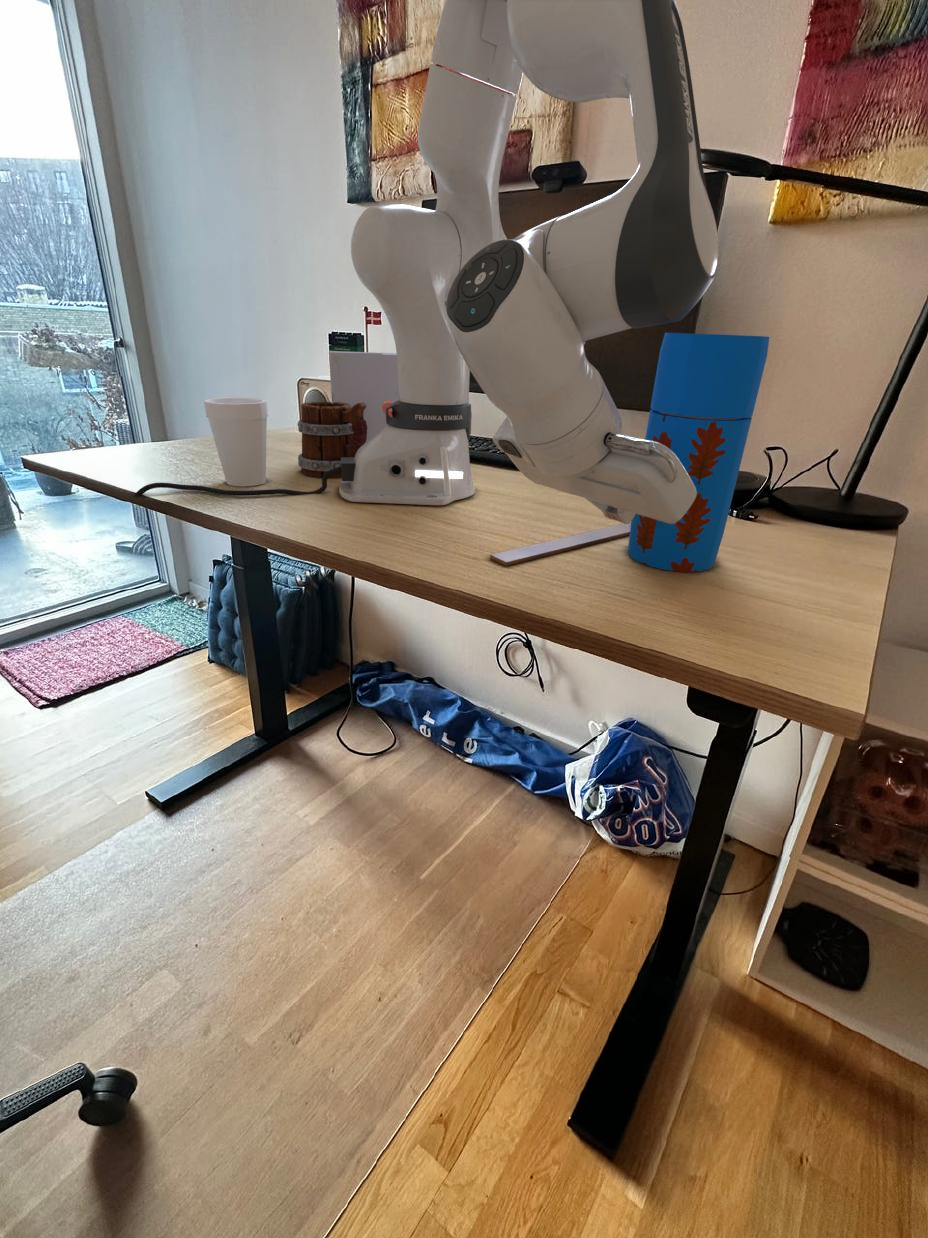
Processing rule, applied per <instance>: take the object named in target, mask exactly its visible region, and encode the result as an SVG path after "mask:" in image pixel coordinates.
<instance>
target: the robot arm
mask: <svg viewBox="0 0 928 1238" xmlns="http://www.w3.org/2000/svg"><path fill="white" fill-rule="evenodd" d="M439 17H440V18H439V21H438V25H437V29H436V34H435V38H434V43H433V48H432V53H431V58H430V62H431V63H429V67H428V74H427V79H426V85H425V91H424V97H423V102H422V107H421V113H420V118H419V125H418V130H417V145H418V149H419V152H420V155H421V157H422V158H423V160H424V162H425V163H426V165H427V167H428V168H429V169H430V170H431V171H432V173H433V175H434V177H435V183H436V192H437V194H436V205H435V210H434V209H429V208H424V207H419V206H413V205H410V204H409V205H408V204H405V203H404V204H403V203H395V204H394V203H393V204H382V205H375V206H374V205H373V206H370V207H369V206H368V207H367V208H366V209H364V210H363V211H362V213H361V214H360V216H359V217H358V218H357V220H356V222H355V225H354V227H353V230H352V234H351V239H350V256H351V261H352V265H353V269H354V271H355V273H356V275H357V277H358V279H359V281H360V282H361V284H362V285H363V286H364V287H365V288H366V289H367V290H368V291H369V292H370V293H371V294H372V295H373V297H374V298H375V300H376V301H377V302H378V304H379V305H380V306H381V308H382V311H383V312H384V314H385V317H386V319H387V321H388V324H389V327H390V329H391V332H392V333H391V334H392V336H393V340H394V345H395V350H396V352H395V353H397V366H398V389H399V400H397V401H395V402H394V403H392V402H390V401H385V402H384V404H382V406H383V407H382V410H383V412H384V413H385V414H386V423H387V424H388V425H387V426H386V427H385V428H383V429H382V430H381V431H380V432H379V433H377V434H376V435H375V436H374V437H372V438H371V439H370V440H369V441H367V442H366V443H365V444H364V445H362V446H361V447H360V448H359V449H358V451H357V453H356V455H355V457H341V466H340V467H337V468H335V469H332V470H330V471H328V472H326V473H325V474H324V476H322V477H321V487H319V488H317V489H315V490H312V491H301V490H295V489H286V488H270V489H252V490H250V489H249V490H247V489H246V490H239V489H238V490H233V489H222V488H221V489H220V488H214V487H210V486H204V485H197V484H196V485H195V484H180V483H172V482H153V483H152V482H151V483H148V484H146V485H144V486H142V487H141V488H139V489H138V490H137V491H136V492H135V494H134V496H136V497H140V496H143V495H144V494H145V493H146V492H148V491H150V490H154V489H160V488H161V489H162V488H163V489H172V490H173V489H175V490H180V491H181V490H183V491H198V492H199V491H200V492H206V493H211V494H216V495H222V496H235V497H236V496H237V497H238V496H242V497H243V496H247V497H249V496H266V495H267V496H268V495H288V496H302V495H318V494H322V493H324V492H325V491H326V490H327V487H328V479H329V478H328V477H329V476H331V475H333V474H335V473H338V472H340V471H341V474H342V477H341V481H340V483H339V486H338V487H339V489H338V492H339V495H340V497H341V498H342V499H344V500H346V501H349V502H354V503H372V504H373V503H374V504H397V505H418V506H445V505H446V506H447V505H449V504H450V503H452V502H454V501H457V500H458V501H459V500H463V499H466V498H469V497H471V496H473V495H475V493H476V488H475V485H474V481H473V475H472V468H471V461H470V449H469V448H470V447H469V440H470V439H471V434H472V421H473V420H472V419H473V416H472V414H473V412H472V404H471V403H470V378H471V377H470V376H471V374H472V376H473V378H474V379H475V381H476V382H477V384H478V386H479V387H480V388H481V390H482V392H483V393H484V394H485V396H486V397H487V398H488V400H489V401H490V402H491V404H493V405H494V407H496V408H497V409H498V410H500V411H501V412H503V413H504V415H505V416H506V417H505V419H503V421H502V423H501V424H500V426H499V427H498V429H497V430H496V432H495V433H494V435H493V437H492V442H493V444H494V445H495V446H496V447H497V448H498V450H499V451H501V452H503V453H505V454H506V455H507V456H508V458H509V459H510V461H511V462H512V463H513V464H514V465H515V467H516V468H517V469H518V470H519V471H520V473H521V474H522V475H523V476H524V477H525V478H526V479H528V480H529V481H530V482H532V483H534V484H536V485H540V486H543V487H546V488H549V489H554V490H556V491H560V492H563V493H565V494H569V495H573V496H576V497H580V498H583V499H586V500H587V501H588V502H590V503H591V504H592V505H593V506H595V507H596V508H597V509H598V510H600V512H601V513H602V515H603V516H604V517H605V518H606V519H608V520H613V521H617V522H618V523H621V524H629V523H630V522H631V520H632V519H633V518H634V516H635V514H639V515H642V516H645V517H649V518H652V519H655V520H658V521H662V522H665V523H668V524H675V523H676V522H678V521H679V520H680V519H681V518H682V517H683V516H684V515H685V514H686V512H687V511H688V509H689V508H690V507H691V505H692V503H693V502H694V500H695V498H696V495H697V491H696V488H695V486H694V484H693V482H692V480H691V478H690V477H689V475H688V473H687V471H686V470H685V468H684V467H683V465H682V463H681V462H680V460H679V459H678V458H677V456H676V455H675V454H674V453H673V452H672V451H671V450H670V449H669V448H668V447H666V446H665V445H663V444H661V443H658V442H655V441H650V440H645V438H640V437H633V436H629V435H623V434H621V432H622V427H623V425H622V424H623V423H622V422H623V421H622V417H621V414H620V411H619V410H618V407H617V405H616V403H615V402H614V399H613V398H612V396H611V394H610V391H609V390H608V388H607V386H606V383H605V381H604V379H603V377H602V375H601V374H600V372H599V370H598V369H597V368H596V367H595V366H594V365H593V364H592V363H591V362H590V361H589V360H588V358H587V356H586V352H585V344H586V341H589V340H594V339H597V338H601V337H604V336H608V335H612V334H616V333H620V332H623V331H627V330H631V329H642V328H647V327H654V326H660V325H667V324H672V323H678V322H680V321H682V320H683V319H684V318H685V317H686V316H687V315H688V314H689V313H690V312H691V310H693V308H694V307H695V306H696V305H697V304H698V303H699V302H700V300H701V298H702V297H703V296H704V294H705V293H706V292H707V290H708V289H709V287H710V285H711V284H712V282H713V281H714V279H715V278H716V275H717V271H718V259H719V236H718V235H719V234H718V227H717V223H716V218H715V214H714V209H713V207H712V204H711V201H710V198H709V192H708V188H707V183H706V178H705V171H704V164H703V157H702V149H701V142H700V133H699V127H698V121H697V120H698V118H697V112H696V111H697V110H696V104H695V95H694V88H693V81H692V75H691V69H690V61H689V55H688V49H687V45H686V43H687V42H686V37H685V33H684V28H683V22H682V19H681V14H680V11H679V7H678V4H677V2H676V0H444V3H443V6H442V10H441V14H440V16H439ZM435 64H436V65H435ZM438 65H439V66H438ZM524 76H525V77H526V78H527V80H528V81H529V82H531V84H532V85H533V86H534V87H535V88H536V89H538V90H539V91H541V92H542V93H544V94H546V95H547V96H550V97H551V98H554V99H557V100H560V101H563V102H569V103H589V102H591V101H592V102H593V101H598V100H604V99H613V98H614V99H615V98H616V99H619V98H622V99H630V100H629V101H630V102H629V103H630V109H631V117H632V125H633V133H634V142H635V151H636V156H637V158H636V159H637V169H636V171H635V172H634V174H633V175H632V176H631V178H630V179H629V180H628V181H627V182H626V183H625V185H623V186H622V187H621V188H620V189H618V190H617V191H616V192H614V193H612V194H610V195H607V196H606V197H604V198H601V199H599V200H597V201H594V202H593V203H589V204H588V205H585V206H583V207H581V208H579V209H578V208H577V209H576V210H574V211H572V212H568V213H567V214H565V215H560V216H557V217H555V218H552V219H550V220H548V221H545V222H543V223H541V224H539V225H537V226H534V227H532V228H529V229H527V230H525V231H524V232H521V233H520V234H519V235H517V236H516V237H514V238H513V239H509V238H508V237H507V236H506V234H505V232H504V229H503V225H502V221H501V216H500V203H499V199H500V198H499V197H500V196H499V195H500V193H499V190H500V178H501V170H502V165H503V160H504V155H505V150H506V148H507V147H506V146H507V142H508V138H509V133H510V130H511V125H512V120H513V117H514V113H515V110H516V105H517V101H518V97H517V96H519V94H520V89H521V85H522V81H523V77H524Z"/></svg>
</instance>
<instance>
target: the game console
mask: <svg viewBox="0 0 928 1238" xmlns="http://www.w3.org/2000/svg"><path fill="white" fill-rule="evenodd" d="M328 363H329V377H330V380H329V381H330V395H331V397H330V398H331V403H332V404H333V402H341V403H347V404H350V405H351V407H353V406H354V405H356V404H357V403H365V404H366V408H365V410H364V411H363V415H364V420H366V424H367V428H368V429H367V439H366V442H367V441H369V440H370V439H371V438H372V437H374V436H375V435H376V434H377V433H379V432H380V431H381V430H382V429H383V428H385V427H386V426H387V425H388V424H387V423H386V414H385V413H384V412H383V410H382V407H383V406H382V404H384V402H385V401H390V402H392V403H394V402H395V401H397V400H399V389H398V366H397V352H375V351H373V352H371V351H370V352H369V351H337V350H328Z"/></svg>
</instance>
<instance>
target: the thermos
mask: <svg viewBox="0 0 928 1238" xmlns="http://www.w3.org/2000/svg"><path fill="white" fill-rule="evenodd" d="M769 343H770V336H764V335H763V336H762V335H743V334H739V335H738V334H714V333H713V334H711V333H688V332H687V333H685V332H682V333H681V332H665V333H664V335H663V339H662V343H661V346H660V350H659V355H658V361H657V367H656V373H655V379H654V383H653V391H652V396H651V402H650V408H649V409H650V410H649V414H648V420H647V426H646V430H645V431H646V432H645V436H644V437H645V438H644V439H645V440H650V441H655V442H658V443H661V444H663V445H665V446H666V447H668V448H669V449H670V450H671V451H672V452H673V453H674V454H675V455H676V456H677V458H678V459H679V460H680V462H681V463H682V465H683V467H684V468H685V470H686V471H687V473H688V475H689V477H690V478H691V480H692V482H693V484H694V486H695V488H696V491H697V495H696V498H695V500H694V502H693V503H692V505H691V507H690V508H689V509H688V511H687V512H686V514H685V515H684V516H683V517H682V518H681V519H680V520H679V521H678V522H676V523H675V524H668V523H665V522H662V521H658V520H655V519H652V518H649V517H645V516H642V515H639V514H635V516H634V518H633V519H632V520H631V528H630V535H629V536H628V546H627V547H628V549H627V552H628V555H629V557H631V558H632V559H633V560H635V561H636V562H639V563H641V564H643V565H645V566H647V567H652V568H655V569H660V570H663V571H672V572H679V573H696V572H702V571H708V570H710V569H712V568H713V567H714V566H715V563H716V560H717V556H718V554H719V553H718V552H719V550H720V546H721V544H722V540H723V537H724V533H725V530H726V525H727V521H728V517H729V513H730V509H731V506H732V505H731V504H732V501H733V497H734V493H735V488H736V484H737V481H738V477H739V472H740V469H741V464H742V460H743V457H744V452H745V448H746V444H747V439H748V435H749V431H750V427H751V424H752V420H753V415H754V411H755V407H756V403H757V399H758V396H759V395H758V394H759V390H760V386H761V383H762V378H763V374H764V370H765V366H766V363H767V362H766V361H767V357H768V354H769V353H768V352H769V345H770V344H769Z"/></svg>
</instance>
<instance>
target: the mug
mask: <svg viewBox="0 0 928 1238" xmlns="http://www.w3.org/2000/svg"><path fill="white" fill-rule="evenodd" d="M365 408H366V404H365V403H357V404H356V405H354V406H353V407H351V405H350V404H347V403H341V402H333V404H332V401H311V402H310V401H309V402H308V401H307V402H303V403H301V404H300V409H301V410H300V411H301V419H299V420H298V421H297V428H298V432H299V433H301V453H299V454H298V457H297V463H298V467H300V468H301V469H300V470H301V473H302V474H304V475H306V476H309V477H314V478H322V477H323V476H324V474H325V473H326V472H328V471H330V470H332V469H335V468H337V467H340V466H341V457H355V455H356V453H357V451H358V449H359V448H360V447H361V446H362V445H364V444H365V443H366V439H367V429H368V428H367V424H366V420H364V415H363V411H364V410H365ZM335 478H342V474H341V471H340V472H338V473H335V474H333V475H331V476H329V477H328V478H327V479H335Z"/></svg>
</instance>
